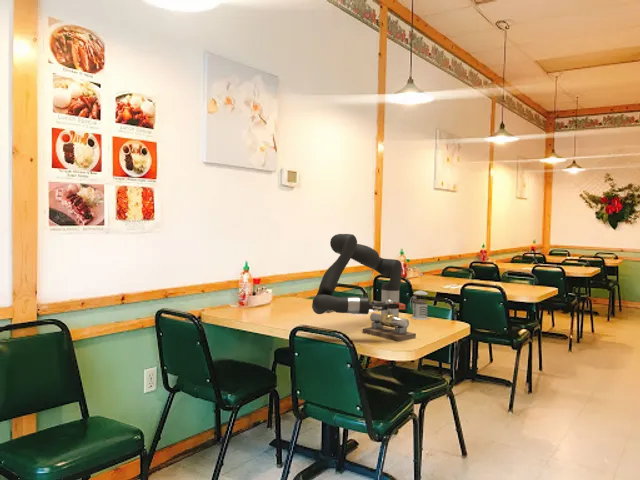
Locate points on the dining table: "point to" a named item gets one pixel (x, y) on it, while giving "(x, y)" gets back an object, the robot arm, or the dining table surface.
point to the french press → (418, 312)
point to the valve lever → (399, 305)
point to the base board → (389, 333)
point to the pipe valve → (389, 322)
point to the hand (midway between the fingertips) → (396, 306)
